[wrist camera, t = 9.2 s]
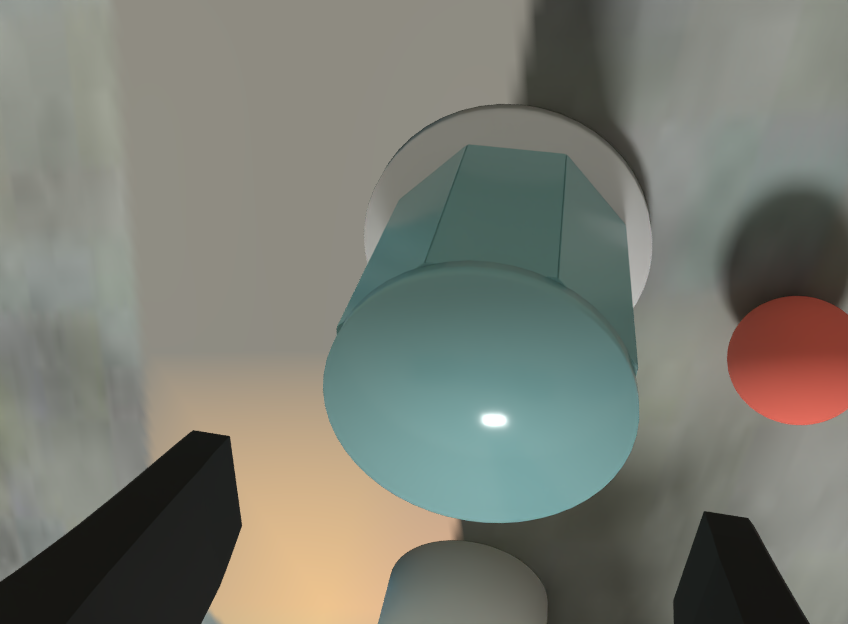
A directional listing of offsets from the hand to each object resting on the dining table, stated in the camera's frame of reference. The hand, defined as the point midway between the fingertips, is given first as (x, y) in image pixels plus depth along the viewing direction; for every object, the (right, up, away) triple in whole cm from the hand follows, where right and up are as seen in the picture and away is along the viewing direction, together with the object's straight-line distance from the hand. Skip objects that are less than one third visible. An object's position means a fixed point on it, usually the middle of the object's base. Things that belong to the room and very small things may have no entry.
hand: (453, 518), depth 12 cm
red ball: (+8, +2, +6) cm, 10 cm away
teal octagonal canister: (+2, +5, +7) cm, 8 cm away
